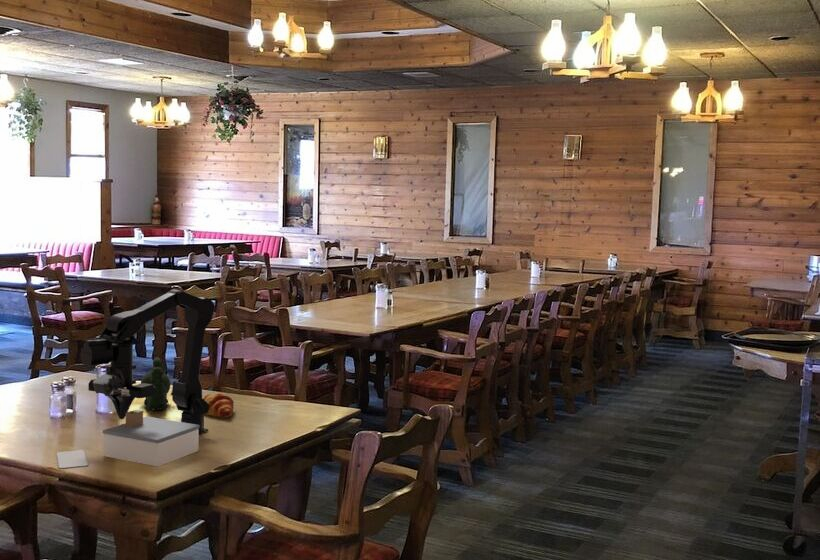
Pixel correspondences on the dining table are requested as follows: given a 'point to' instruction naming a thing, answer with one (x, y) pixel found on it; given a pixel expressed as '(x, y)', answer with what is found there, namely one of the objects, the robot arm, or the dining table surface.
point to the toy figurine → (157, 387)
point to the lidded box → (151, 448)
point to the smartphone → (71, 459)
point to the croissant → (219, 405)
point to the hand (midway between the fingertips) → (121, 418)
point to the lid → (149, 428)
